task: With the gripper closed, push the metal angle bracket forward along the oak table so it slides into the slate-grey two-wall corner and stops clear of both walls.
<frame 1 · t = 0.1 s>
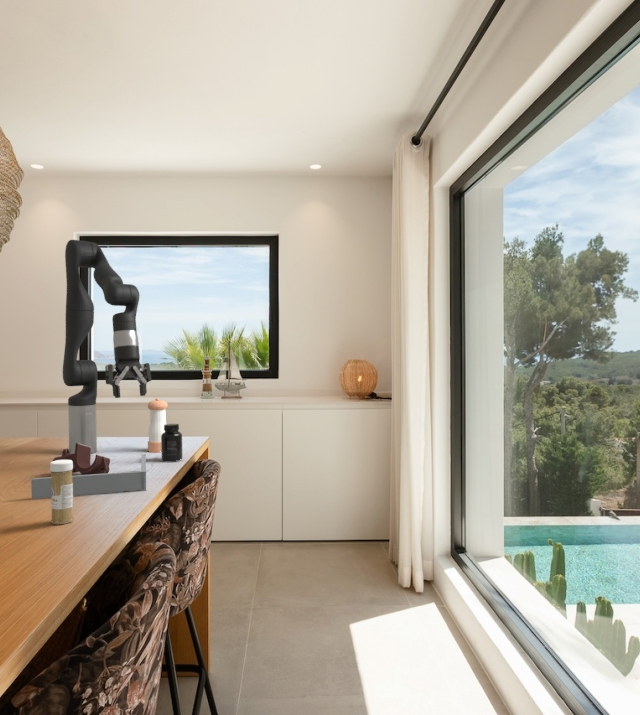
hand: (130, 396, 180), 22 cm above the table, tool pointing down, fingers open, 8 cm apart
pepper shaker: (158, 451, 208), on the table
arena: (94, 480, 163), on the table
sprinkles bottle: (62, 522, 126), on the table
supplement bottle: (172, 460, 191), on the table
bracket: (83, 476, 169), on the table
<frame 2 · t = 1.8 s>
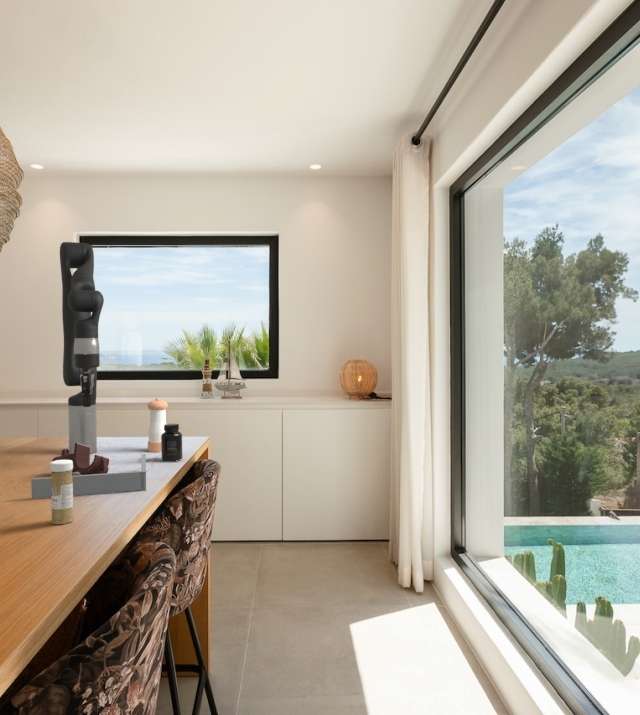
hand: (87, 405, 183), 19 cm above the table, tool pointing down, fingers open, 3 cm apart
nothing on the table moved.
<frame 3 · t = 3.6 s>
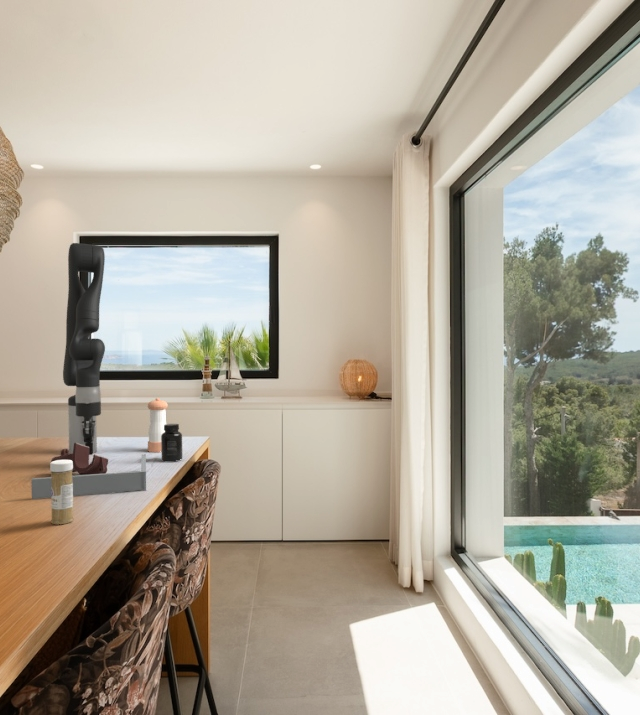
hand: (89, 454, 184), 4 cm above the table, tool pointing down, fingers closed
nothing on the table moved.
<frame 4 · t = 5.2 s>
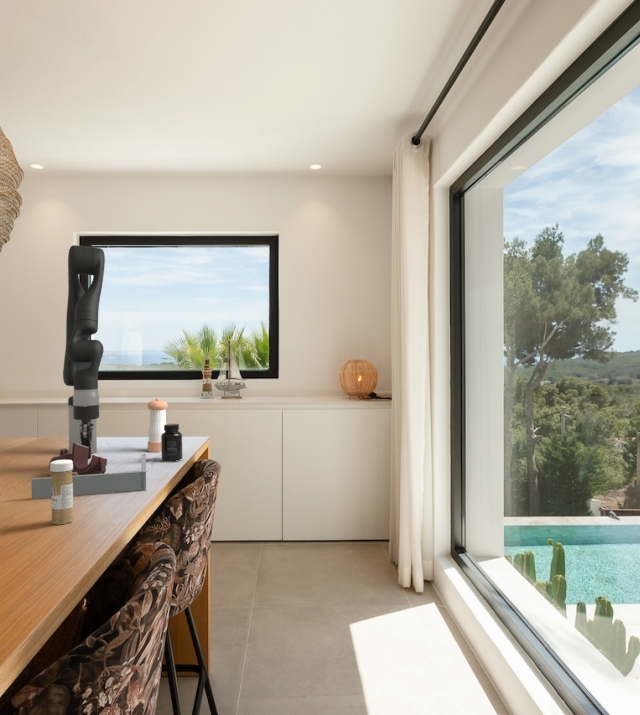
hand: (87, 458, 179), 3 cm above the table, tool pointing down, fingers closed
nothing on the table moved.
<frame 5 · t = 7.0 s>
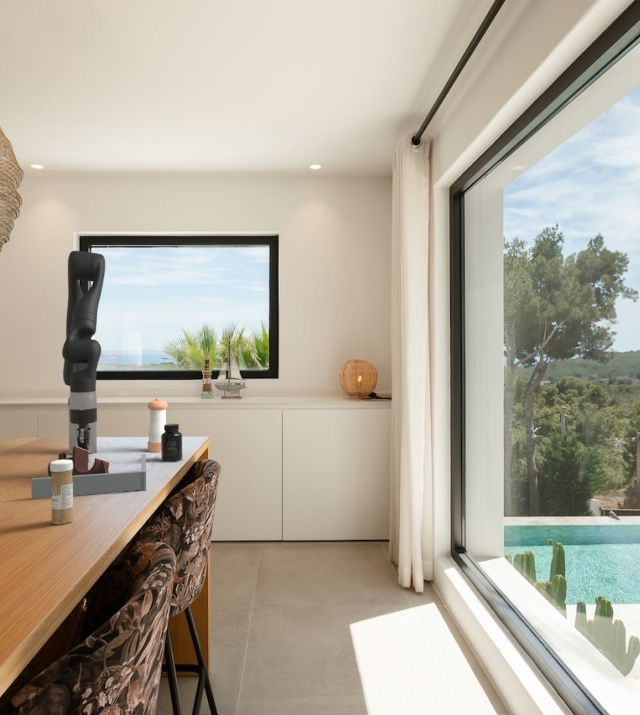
hand: (84, 463, 171), 3 cm above the table, tool pointing down, fingers closed
bracket: (81, 481, 163), on the table, touching hand
everything else where it was.
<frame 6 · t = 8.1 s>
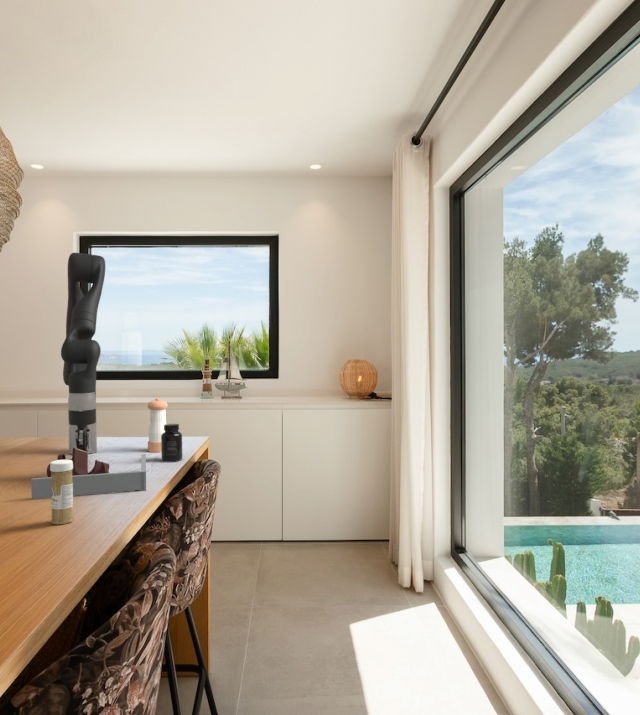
hand: (83, 466, 168), 3 cm above the table, tool pointing down, fingers closed
bracket: (81, 483, 161), on the table, touching hand
everything else where it was.
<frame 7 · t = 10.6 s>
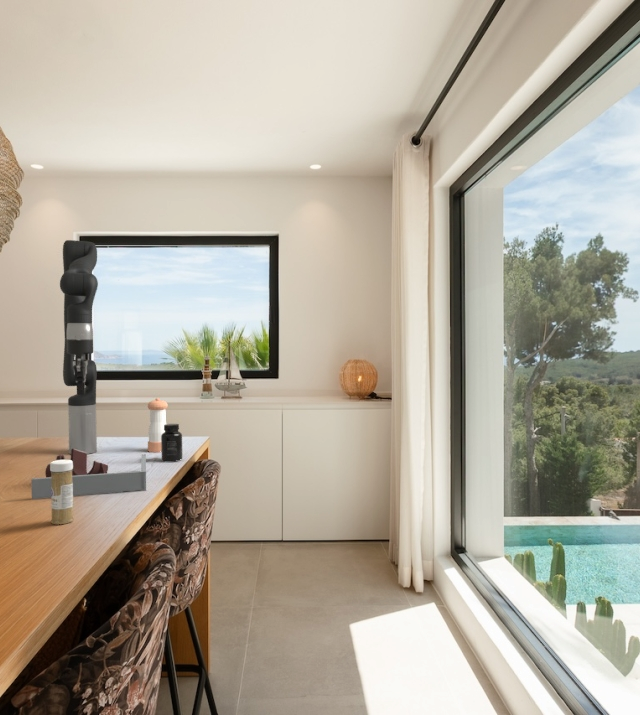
hand: (80, 394, 176), 23 cm above the table, tool pointing down, fingers closed
bracket: (79, 484, 160), on the table
everything else where it was.
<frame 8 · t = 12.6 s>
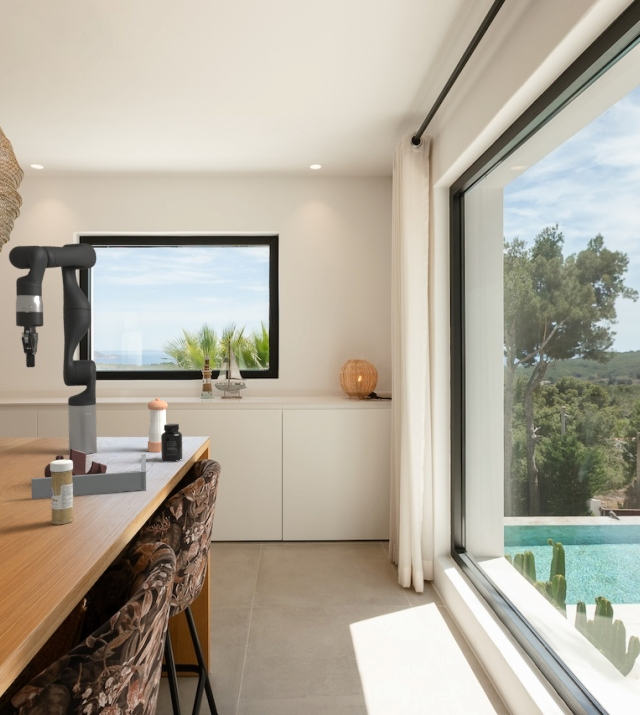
hand: (30, 367, 176), 32 cm above the table, tool pointing down, fingers closed
nothing on the table moved.
at the end: bracket inside the target area (2.6 cm from its centre), on the table; bracket touching table; bracket moved 9.9 cm from its start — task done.
